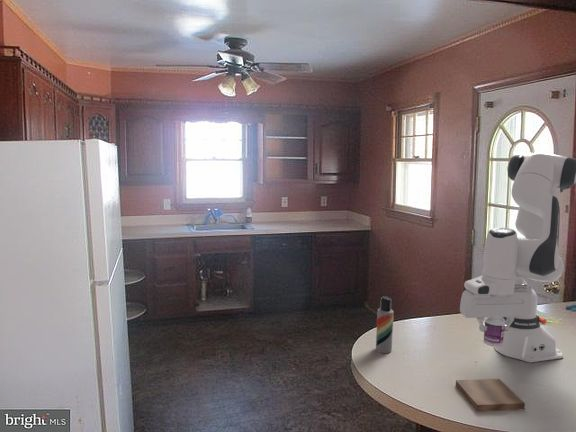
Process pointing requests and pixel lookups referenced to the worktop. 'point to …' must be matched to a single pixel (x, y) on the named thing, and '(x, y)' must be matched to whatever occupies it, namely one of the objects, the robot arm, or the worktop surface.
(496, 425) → the worktop surface
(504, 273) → the robot arm
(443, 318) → the worktop surface
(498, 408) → the walnut board
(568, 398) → the worktop surface
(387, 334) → the lotion bottle
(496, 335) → the pill bottle
